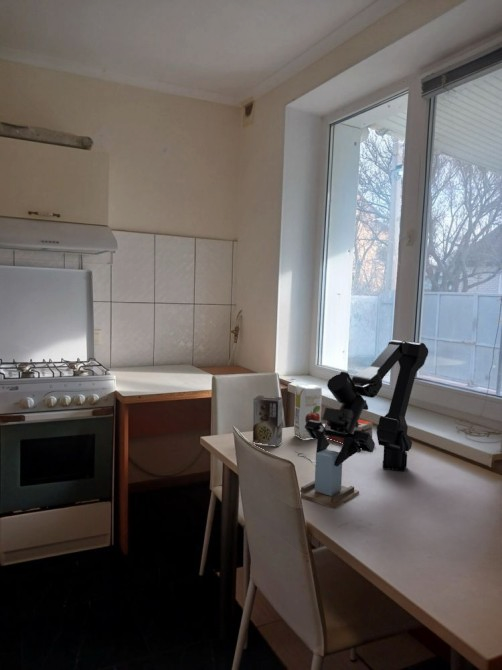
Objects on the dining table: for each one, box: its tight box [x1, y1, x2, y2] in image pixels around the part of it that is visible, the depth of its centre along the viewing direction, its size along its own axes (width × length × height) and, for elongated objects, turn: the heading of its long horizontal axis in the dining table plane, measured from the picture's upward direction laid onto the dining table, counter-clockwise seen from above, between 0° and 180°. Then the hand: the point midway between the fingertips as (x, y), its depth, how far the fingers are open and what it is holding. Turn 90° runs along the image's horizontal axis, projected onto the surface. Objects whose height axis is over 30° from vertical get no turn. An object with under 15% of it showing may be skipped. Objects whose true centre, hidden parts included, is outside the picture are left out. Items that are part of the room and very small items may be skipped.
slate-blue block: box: [314, 448, 343, 496], centre depth 131 cm, size 5×5×10 cm
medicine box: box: [324, 418, 373, 444], centre depth 179 cm, size 15×8×8 cm, turn 44°
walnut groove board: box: [300, 480, 360, 509], centre depth 132 cm, size 12×12×2 cm
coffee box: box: [252, 395, 284, 447], centre depth 174 cm, size 9×6×16 cm
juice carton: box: [293, 384, 323, 439], centre depth 182 cm, size 8×9×19 cm
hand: (326, 462), depth 130 cm, fingers open, 5 cm apart
